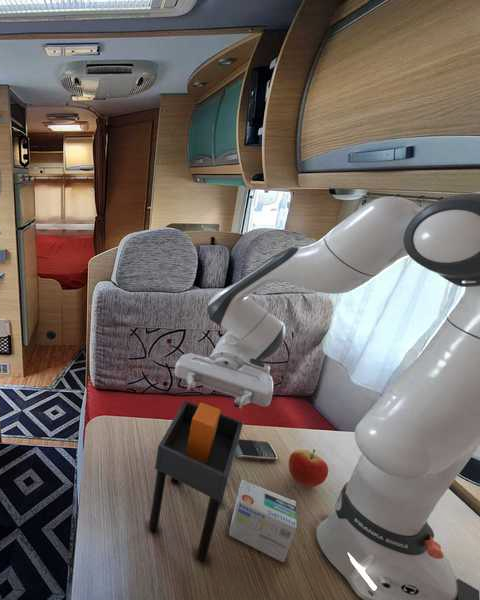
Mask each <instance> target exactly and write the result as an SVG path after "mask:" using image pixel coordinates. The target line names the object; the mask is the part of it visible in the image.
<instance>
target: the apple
mask: <svg viewBox="0 0 480 600" xmlns="http://www.w3.org/2000/svg"><path fill="white" fill-rule="evenodd" d="M315 452H316V450H315V448H313V452H312V451H309V450H307V449H306V450H305V449H296V450H294V451H292V453H290V456H289V459H288V471H289V474H290V476H291V477H292V479H293V480H294V482H296V483H297V484H299V485H301V486H303V487H306V488H315V487H318V486H320V485H321V484H324V482H325V481H326V480H327V478H328V475H329V466H328V464H327V462H326V461H325V460H324V459H323V458H321V457H320V456H318V455H317V454H315Z"/></svg>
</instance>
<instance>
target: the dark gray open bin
mask: <svg viewBox="0 0 480 600" xmlns="http://www.w3.org/2000/svg"><path fill="white" fill-rule="evenodd" d="M198 406H199V404H195V403H194V402H190V401H188V400H184V401H183V402H182V404H181V405H180V408H179V409H178V411H177V413H176V414H175V417H174V418H173V420H172V421H171V423H170V425H169V427H168V429H167V430H166V432H165V434H164V435H163V437H162V439H161V441H160V442H159V444H158V446H157V452H156V459H155V467H154V468H155V470H156V471H157V470H158V471H160V472H162V473H164V474H166V476H168V477H170V478H174V479H176V480H178V481H179V482H180V483H182V484H184V485H186V486H188V487H190V488H191V489H194V490H196V491H197V492H200V493H202V494H203V495H205V496H208V497H209V498H210V497H211V498H213V499H215V500H217V501H219V502H222V503H223V500H224V496H225V492H226V489H225V488H227V485H228V481H229V478H230V475H231V470H232V467H233V463H234V460H235V456H236V455H235V453H236V449H237V446H238V442H239V439H240V437H241V434H242V429H243V426H244V421H241V420H238V419H236V418H233V417H231V416H228V415H225V414H222V413H220V416H219V420H218V425H217V429H216V434H215V438H214V443H213V447H212V450H211V453H210V456H209V458H208V461H207V464H206V465H205V464H203V463H201V462H199V461H196V460H194V459H192V458H190V457H188V456H186V451H187V445H188V440H189V434H190V429H191V423H192V418H193V416H194V414H195V412H196V410H197V408H198ZM223 495H224V496H223ZM222 499H223V500H222Z"/></svg>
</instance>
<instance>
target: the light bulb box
mask: <svg viewBox="0 0 480 600" xmlns="http://www.w3.org/2000/svg"><path fill="white" fill-rule="evenodd" d="M236 495H237V496H236V498H235V499H236V500H235V504H234V507H233V511H232V516H231V522H230V528H229V531H228V532H229V533H228V536H229V537H231V538H234V539H235V540H237V541H240V542H241V543H244V544H245V545H247V546H250V547H251V548H253V549H255V550H258V551H259V552H261V553H263V554H265V555H267V556H269V557H271V558H273V559H275V560H277V561H279V562H281V563H282V564H283V563H285V562H286V561H285V560H286V558H287V555H288V552H289V549H290V547H291V545H292V542H293V539H294V536H295V534H296V531H297V524H298V523H297V501H296V500H295V499H293V498H289V497H286V496H285V495H281V494H279V493H276V492H275V491H274V492H273V491H271V490H269V489H266V488H264V487H261V486H259V485H257V484H254V483H253V482H250V481H247V480H245V479H242V478H241V480H240V484H239V488H238V490H237V494H236Z"/></svg>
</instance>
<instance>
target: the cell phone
mask: <svg viewBox="0 0 480 600" xmlns="http://www.w3.org/2000/svg"><path fill="white" fill-rule="evenodd" d="M235 456H236V457H237V458H238V459H250V460H260V461H270V462H271V461H272V462H275V461H277V460H278V455H277V453H276V451H275V449H274V448H273V446H272V445H271V443H269V442H268V441H263V440H254V439H253V440H252V439H240V438H239V442H238V446H237V449H236V453H235Z"/></svg>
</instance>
